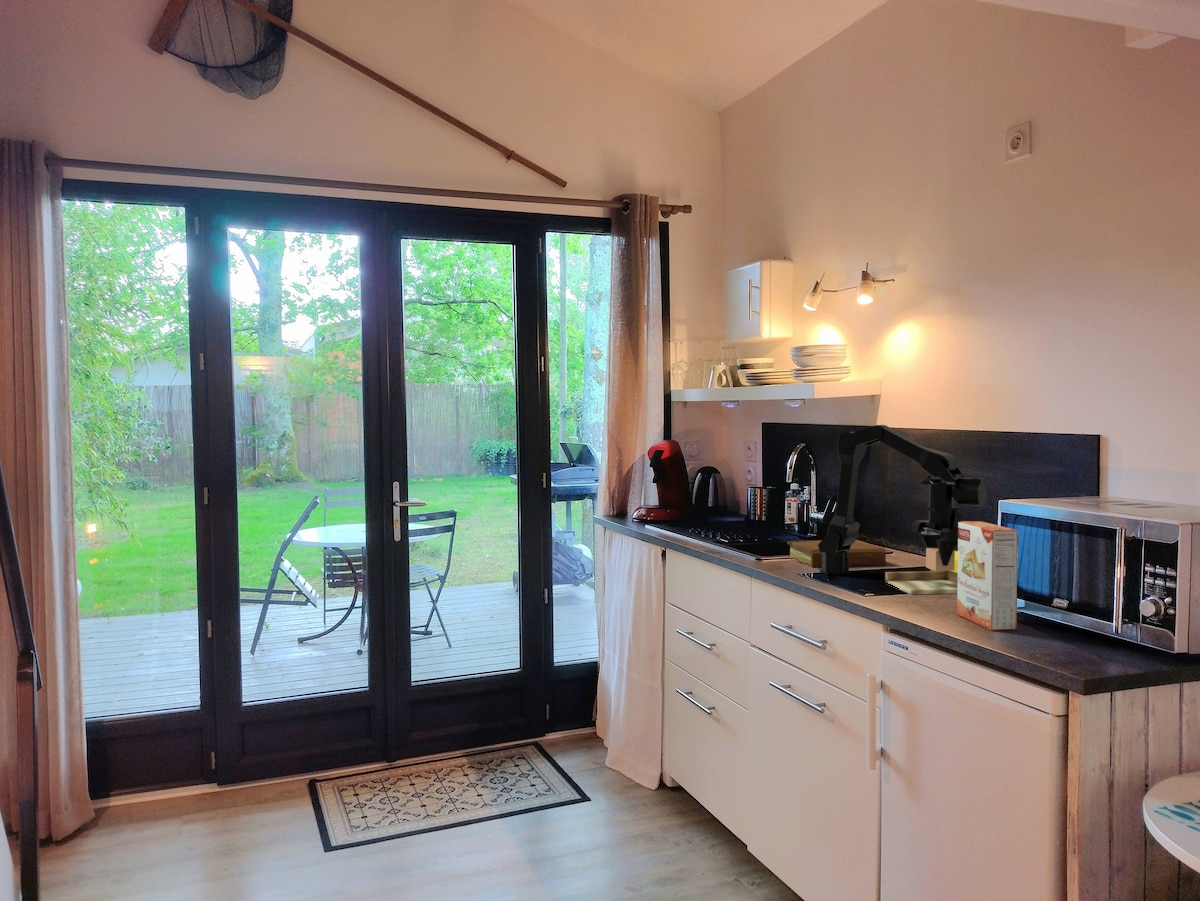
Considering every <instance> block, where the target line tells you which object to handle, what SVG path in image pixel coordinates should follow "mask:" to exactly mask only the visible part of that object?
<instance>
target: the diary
mask: <svg viewBox="0 0 1200 901" xmlns="http://www.w3.org/2000/svg"><path fill="white" fill-rule="evenodd" d="M822 540H823V539H822ZM822 540H820V539H819V540H787V542H786V543H787V545H789V555H787V556H788V557H793V559H795V560H797V561H799V562H801V563H800V564H802V563H803V565H804V564H805V565H804V566H806V565H808V566H807V567H809V566H810V567H809V568H811V567H817V568H822V552H820V550H819V547H818V544H819V543H820V542H821V541H822ZM847 552H848V557H849V568H850V567H881V566H883V567H885V566H886V560H887V559H886V558H887V556H886V555H887V554H886V553H887V551H886V549H885V548H884V547H881V546H878V545H875V544H871V543H869V542H866V541H862V540H859V539H856V541H855V542H854V543H853V544H852V545H851V548H850V550H847ZM797 561H796V562H797ZM799 562H798V563H799Z"/></svg>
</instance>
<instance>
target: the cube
mask: <svg viewBox="0 0 1200 901" xmlns="http://www.w3.org/2000/svg"><path fill="white" fill-rule="evenodd" d="M955 551H956V550H955V549H954V550H953V552H952V555H951V558H950V560H949V563H948V565H947V566H943V564H942V561H941V557H940V554H939V550H938V548H926V547H925V568H927V569H929V570H930V569H932V570H935V571H954V565H955Z"/></svg>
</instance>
